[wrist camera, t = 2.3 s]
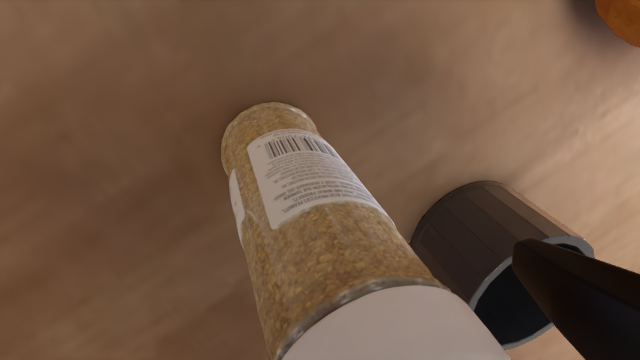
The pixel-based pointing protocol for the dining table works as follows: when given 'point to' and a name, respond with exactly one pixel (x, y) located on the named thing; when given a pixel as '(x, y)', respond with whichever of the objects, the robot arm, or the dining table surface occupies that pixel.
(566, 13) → the dining table surface
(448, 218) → the ceramic cup
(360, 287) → the sprinkles bottle
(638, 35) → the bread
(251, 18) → the dining table surface
